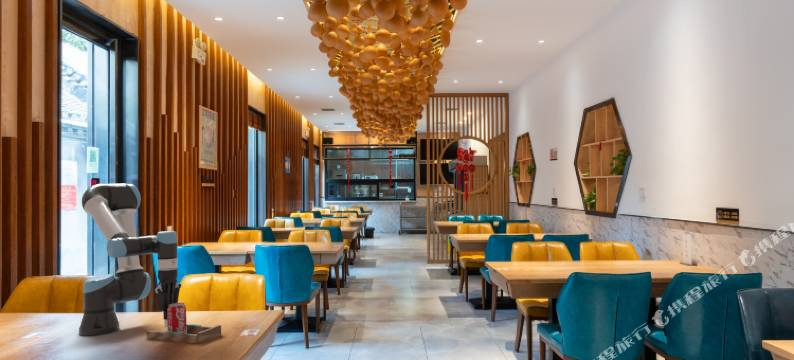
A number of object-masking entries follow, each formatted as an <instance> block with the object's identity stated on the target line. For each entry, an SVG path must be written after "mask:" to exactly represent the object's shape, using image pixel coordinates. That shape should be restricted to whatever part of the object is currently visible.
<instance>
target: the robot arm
mask: <svg viewBox="0 0 794 360" xmlns="http://www.w3.org/2000/svg"><path fill="white" fill-rule="evenodd" d="M141 198H142V197H141V193H140V191H139V188H138V187H137V186H136V185H134V184H133V183H125V182H124V183H123V182H122V183H97V184H94V185H92V186H90V187H88V188H87V189H86V190H85V192H84V193H83V194H82V197H81V206H82V209H83V210H84V212H85V213H86V215H88V216H91V218H92V219H93V220H94V222H95V224H96V225H97V227H98V229H99V230H100V232H101V233H102V235H103V236H104V237H105V239H106V241H107V243H106V248H105V249H106V252H107V255H108V257H110V258H112V259H113V258H114V259H115V258H117V264H118V265H117V266H118V267H117V268H118V269H117V271H115V274H112V273H106V274H100V275H95V276H92V277H89V278H87V279H85V281H83V287H82V288H83V289H82V295H83V297H82V298H83V301H82V303H83V304H82V305H83V312H82V313H83V315H82V319H81V321H80V326H79V327H78V335H80V334H81V335H80V336H99V335H104V334H105V335H106V334H110V333H113V332H116V331H119V330H120V321H119V320H118V317H117V313H116V310H115V305H116V304H122V303H128V302H133V301H139V300H143V299H146V298H147V296H149V293H150V292H151V288H152V279H151V276H150V274H149V273H148V272H145V268H144V267H143V266H141V263H140V257H139V256H144V255H153V254H154V255H155V254H157V259H156V260H157V269H158V270H157V280H159V282H158V286H157V287H156V288H154V289H153V292H154V293H155V297H156V302H157V303H156V304H157V306H158V311H161V312H163V320H164V328H168V323H167V309H168V305H169V304H173V303H179V298H180V297H179V296H180V290H181V288H182V283H178V281H177V278H178V276H179V275H178V269H177V268H178V234H177V232H176V231H175V230H167V231H165V230H164V231H158V232H157V235H154V234H151V235H145V236H137V231H136V224H135V217H134V215H135V214H136V212H137V210H138V209H139V207H140V205H141V201H142V199H141Z"/></svg>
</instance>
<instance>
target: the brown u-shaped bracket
mask: <svg viewBox="0 0 794 360" xmlns="http://www.w3.org/2000/svg"><path fill="white" fill-rule="evenodd" d="M186 324H187V334H184V333H181V332H175V331H168V330H165V331H160V330H159V331H158V330H147V331H146V340H156V341H168V342H179V343H186V344H187V343H189V344H199V345H201V344H203V343H206V342H208V341H210V340H212V339H215V338H218V337H220V336H222V325H221V324H218V325H216V326H203V325H201V324H193V323H186Z"/></svg>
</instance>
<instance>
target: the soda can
mask: <svg viewBox="0 0 794 360" xmlns="http://www.w3.org/2000/svg"><path fill="white" fill-rule="evenodd" d="M167 323H168V327H167V331H175V332H181V333H184V334H188V333H187V324H188V323H187V307H186V304H185V302H178V303H173V304H169V305H168V309H167Z"/></svg>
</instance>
